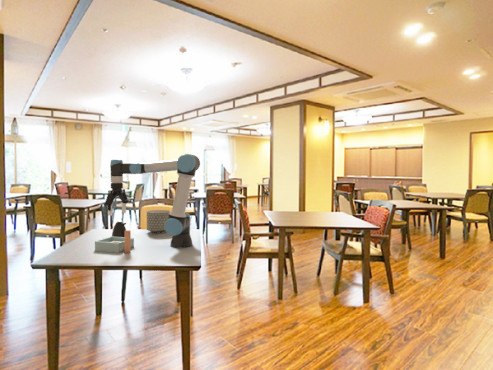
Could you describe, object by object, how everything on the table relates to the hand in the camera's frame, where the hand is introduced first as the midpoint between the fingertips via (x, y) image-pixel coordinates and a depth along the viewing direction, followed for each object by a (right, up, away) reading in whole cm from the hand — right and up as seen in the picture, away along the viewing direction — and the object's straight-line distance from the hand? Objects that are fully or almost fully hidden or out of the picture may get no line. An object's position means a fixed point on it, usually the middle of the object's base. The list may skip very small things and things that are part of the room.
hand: (117, 214), depth 205 cm
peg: (+11, -24, -10) cm, 28 cm away
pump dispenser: (-6, -22, +18) cm, 29 cm away
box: (-1, -23, -1) cm, 23 cm away
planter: (+12, -21, +53) cm, 59 cm away
